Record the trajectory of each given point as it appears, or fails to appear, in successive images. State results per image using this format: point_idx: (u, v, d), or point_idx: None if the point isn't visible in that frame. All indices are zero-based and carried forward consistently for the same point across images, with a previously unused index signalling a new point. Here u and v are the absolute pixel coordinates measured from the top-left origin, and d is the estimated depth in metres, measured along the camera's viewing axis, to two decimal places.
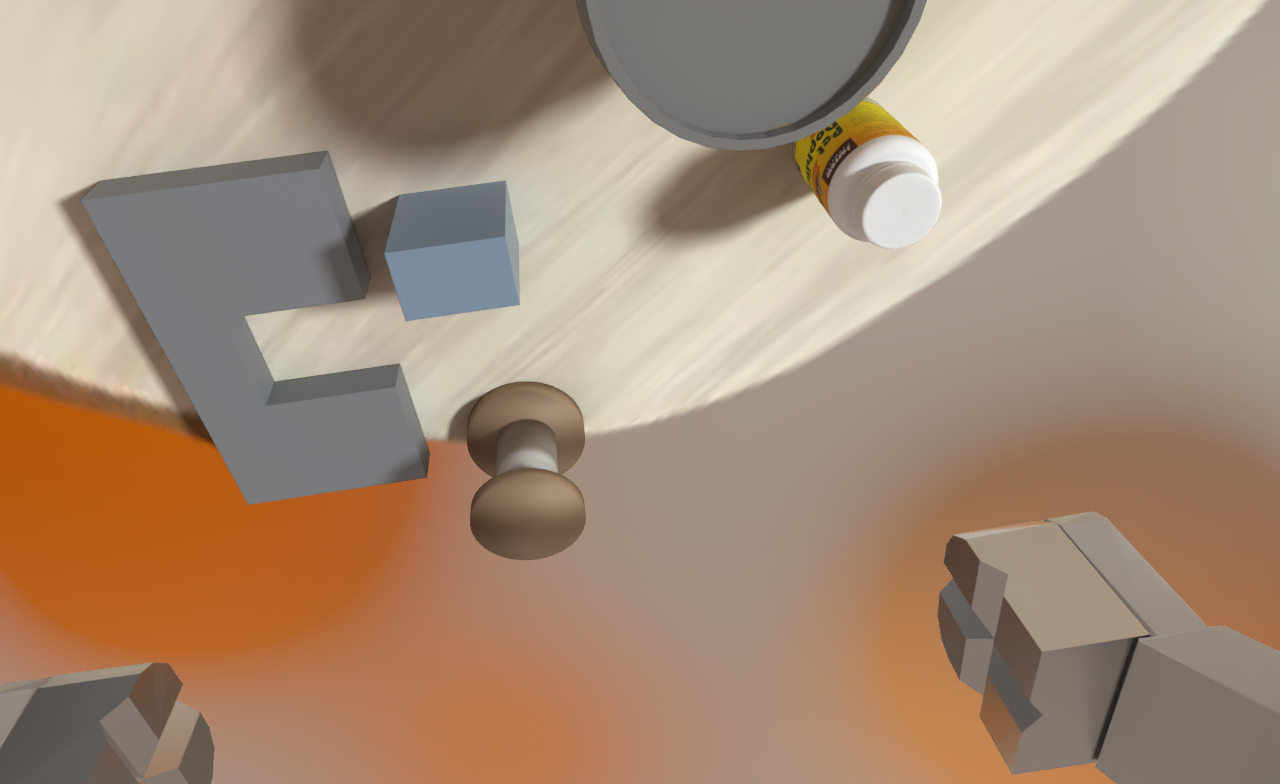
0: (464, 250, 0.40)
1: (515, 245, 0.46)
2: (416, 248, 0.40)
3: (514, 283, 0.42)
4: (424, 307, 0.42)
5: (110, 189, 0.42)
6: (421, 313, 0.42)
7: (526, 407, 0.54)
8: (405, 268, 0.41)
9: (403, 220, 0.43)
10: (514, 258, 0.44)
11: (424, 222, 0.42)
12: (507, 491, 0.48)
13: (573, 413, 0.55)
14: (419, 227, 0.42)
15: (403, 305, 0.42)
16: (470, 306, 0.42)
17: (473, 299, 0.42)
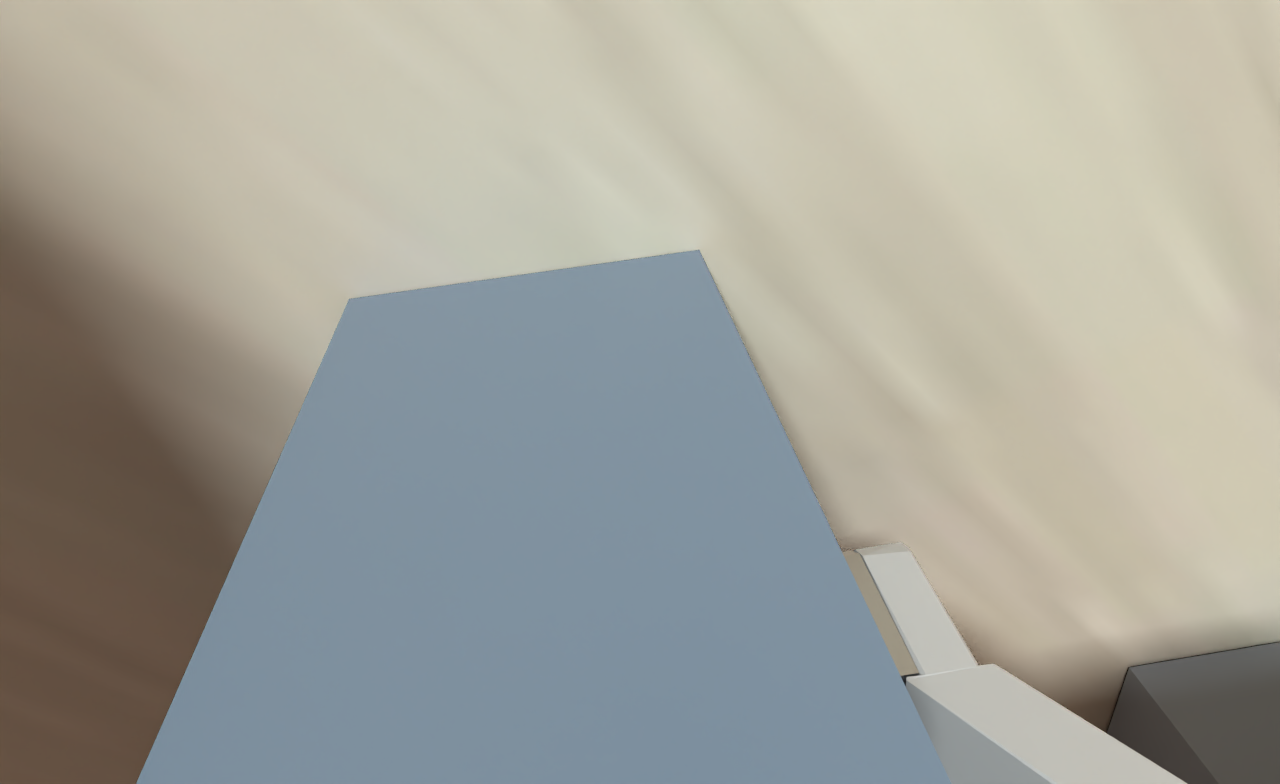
0: None
1: (625, 363, 0.07)
2: None
3: None
4: None
5: None
6: None
7: None
8: None
9: None
10: (609, 530, 0.05)
11: None
12: None
13: None
14: None
15: None
16: None
17: None
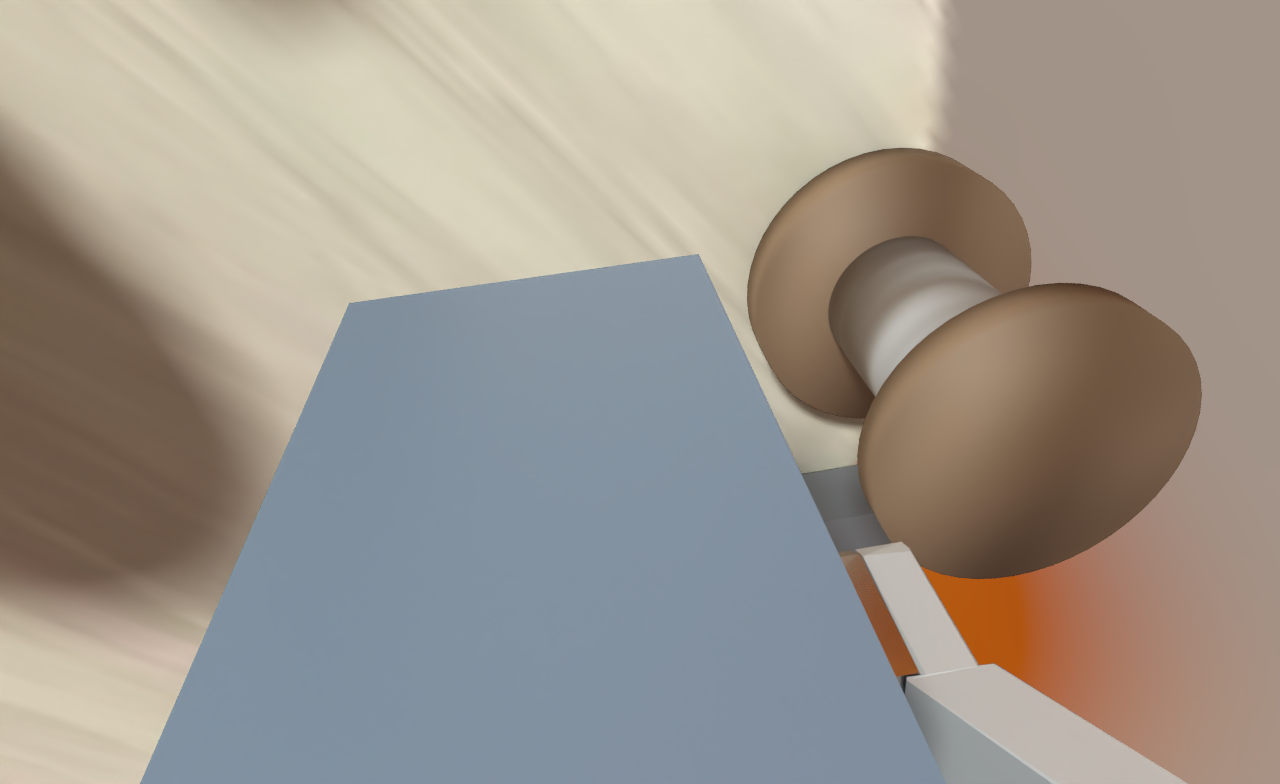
0: None
1: (624, 368, 0.07)
2: None
3: None
4: None
5: None
6: None
7: (796, 301, 0.23)
8: None
9: None
10: (608, 535, 0.05)
11: None
12: (906, 506, 0.17)
13: (838, 195, 0.21)
14: None
15: None
16: None
17: None
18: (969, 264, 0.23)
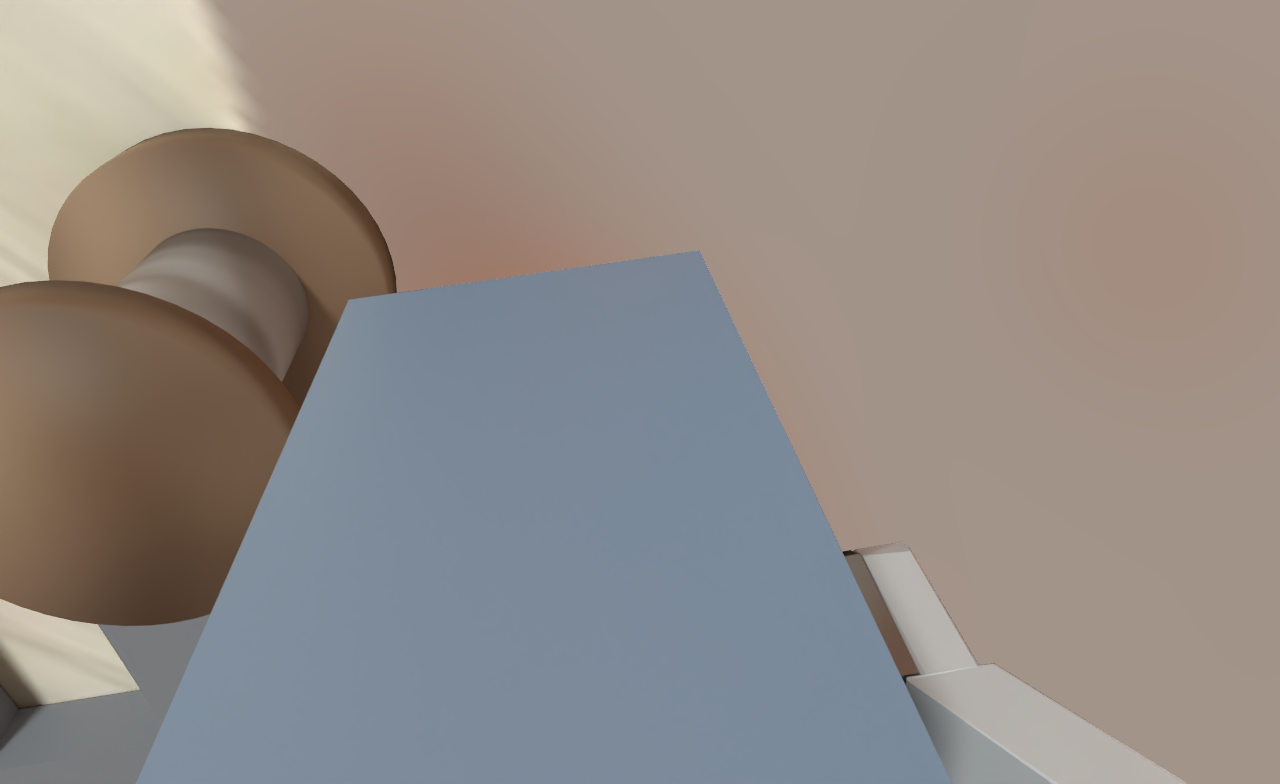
0: None
1: (625, 364, 0.07)
2: None
3: None
4: None
5: None
6: None
7: None
8: None
9: None
10: (609, 531, 0.05)
11: None
12: None
13: (92, 178, 0.19)
14: None
15: None
16: None
17: None
18: (298, 261, 0.20)
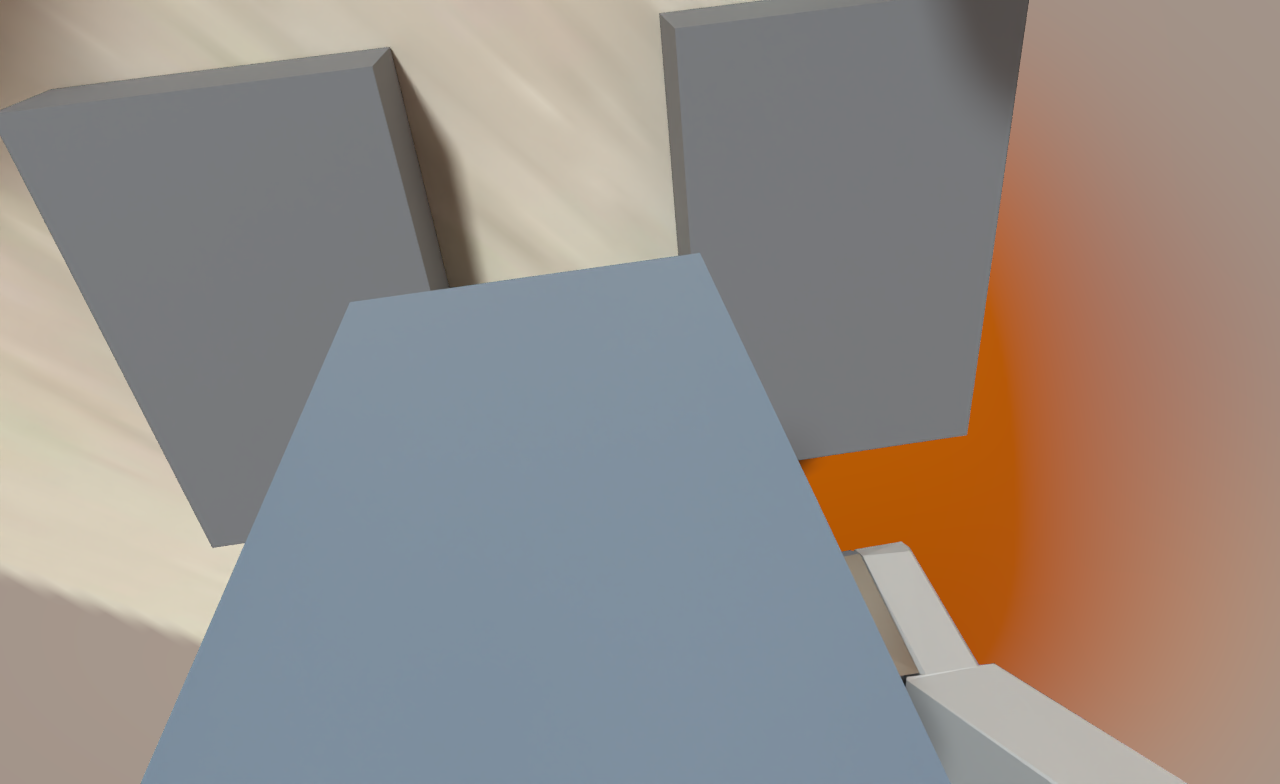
0: None
1: (626, 367, 0.07)
2: None
3: None
4: None
5: None
6: None
7: None
8: None
9: None
10: (610, 535, 0.05)
11: None
12: None
13: None
14: None
15: None
16: None
17: None
18: None
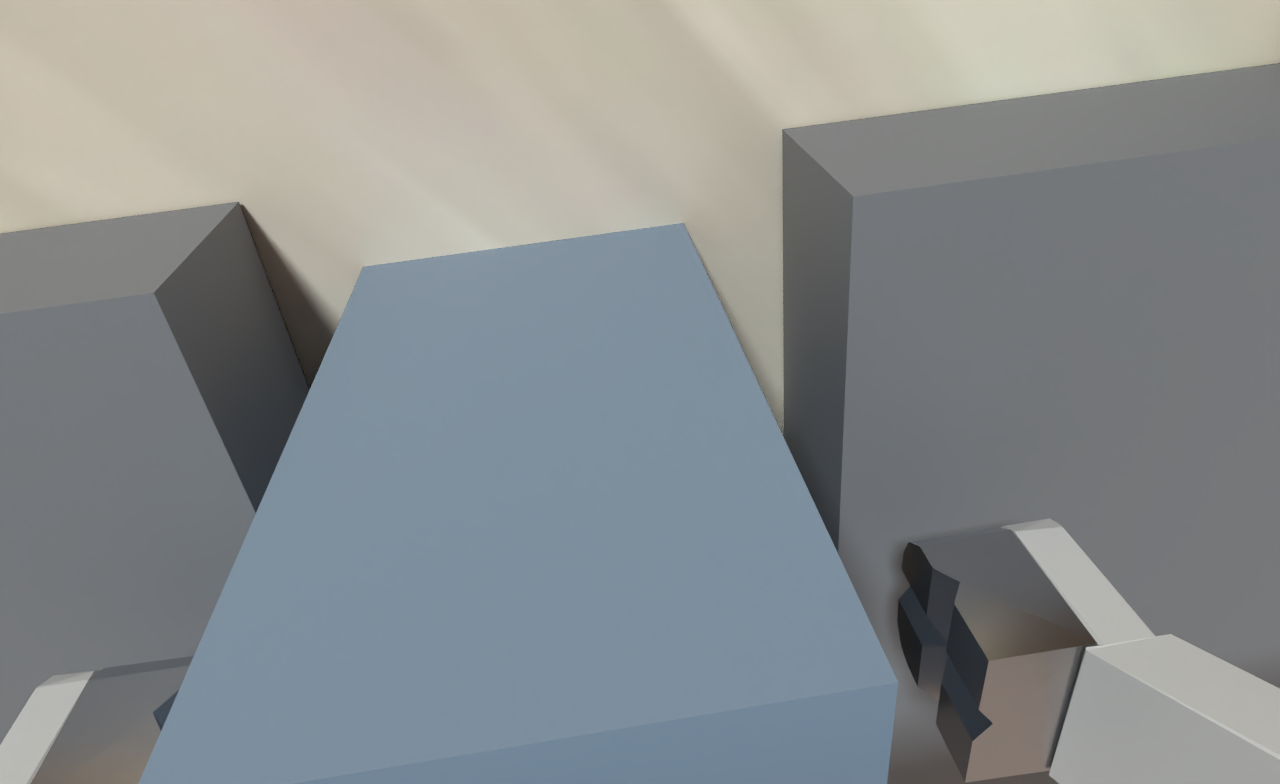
0: None
1: (613, 317, 0.08)
2: None
3: (659, 714, 0.04)
4: None
5: None
6: None
7: None
8: None
9: None
10: (596, 446, 0.06)
11: None
12: None
13: None
14: None
15: None
16: None
17: None
18: None
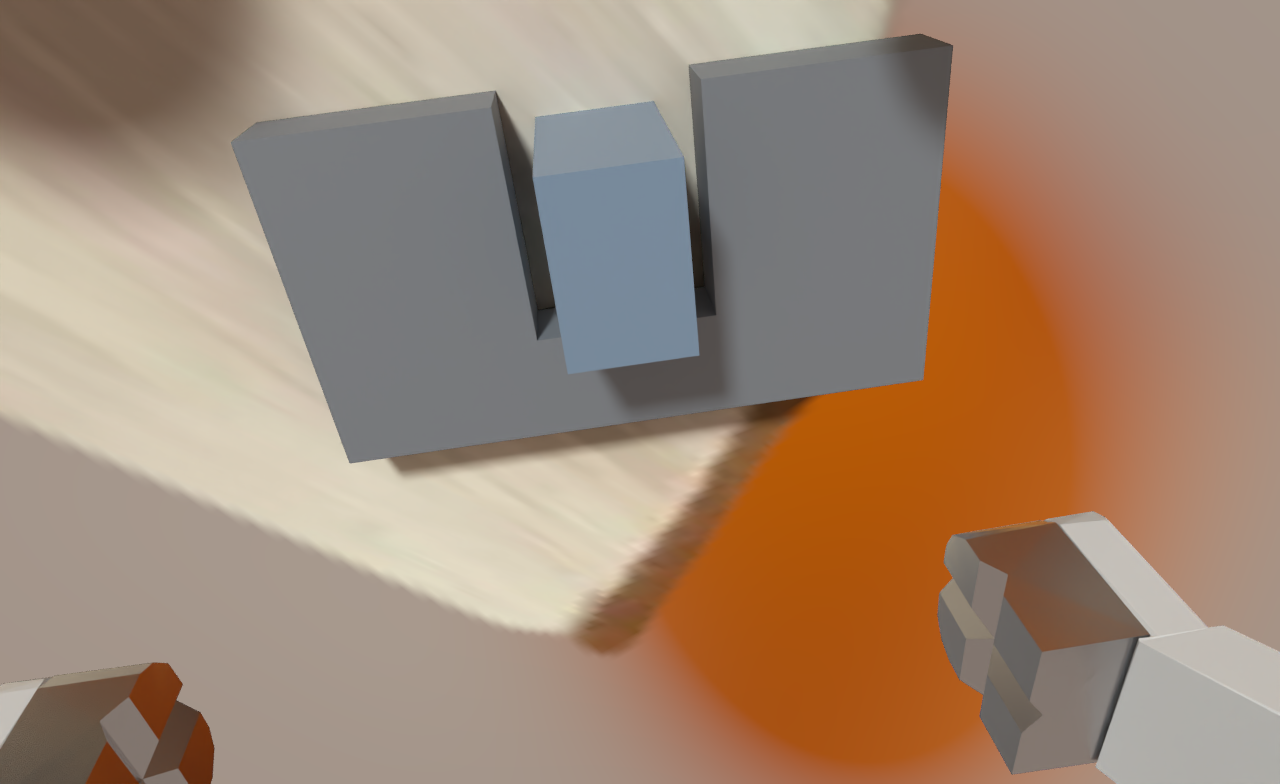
0: (561, 251, 0.22)
1: (627, 121, 0.25)
2: (559, 325, 0.24)
3: (635, 164, 0.21)
4: (675, 324, 0.24)
5: None
6: (686, 329, 0.24)
7: None
8: (595, 346, 0.24)
9: None
10: (622, 140, 0.23)
11: None
12: None
13: None
14: None
15: (668, 355, 0.24)
16: (679, 248, 0.23)
17: (666, 243, 0.22)
18: None
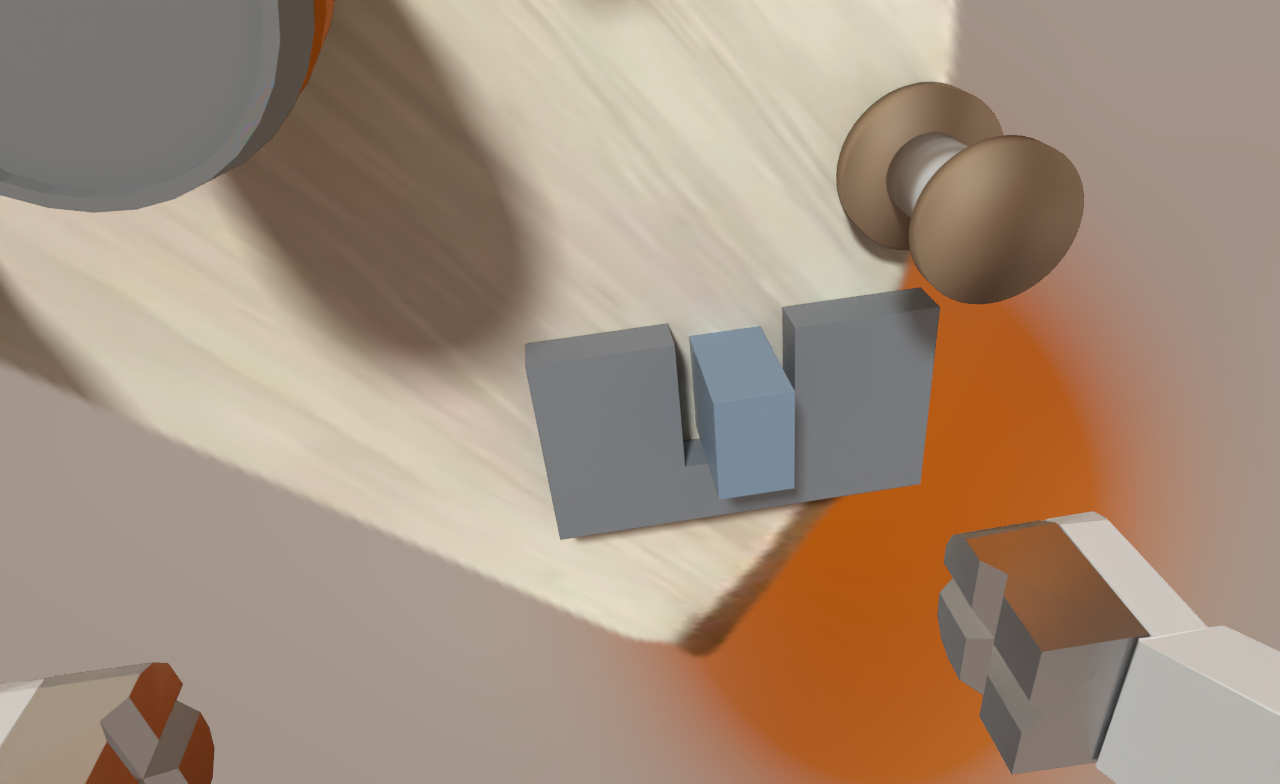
0: (724, 438, 0.40)
1: (750, 348, 0.43)
2: (717, 474, 0.41)
3: (768, 395, 0.39)
4: (782, 472, 0.42)
5: None
6: (788, 475, 0.42)
7: (868, 171, 0.39)
8: (736, 485, 0.42)
9: (706, 450, 0.45)
10: (753, 370, 0.41)
11: (706, 440, 0.44)
12: (934, 253, 0.34)
13: (895, 105, 0.38)
14: (708, 449, 0.43)
15: (776, 488, 0.42)
16: (788, 435, 0.41)
17: (781, 432, 0.40)
18: None
